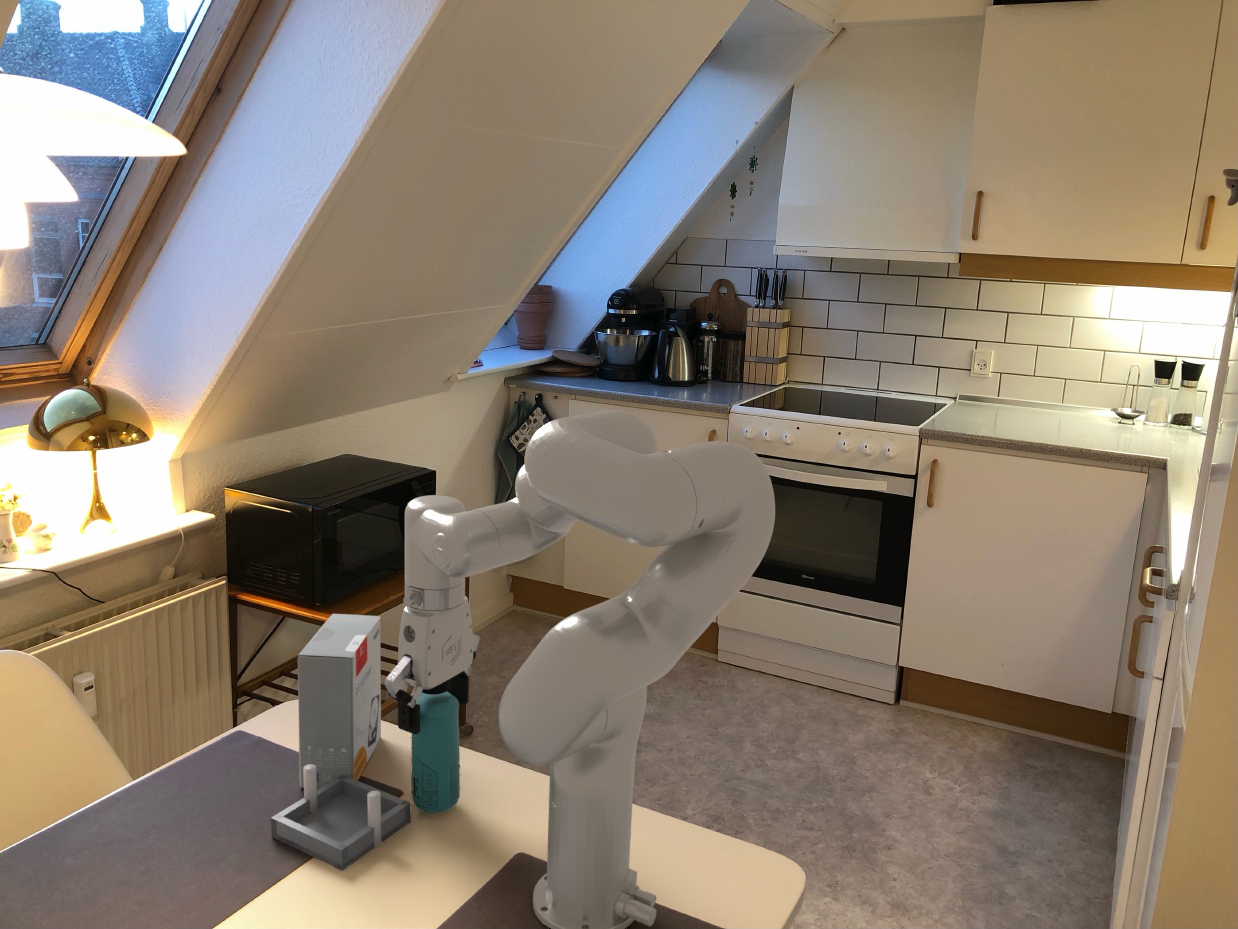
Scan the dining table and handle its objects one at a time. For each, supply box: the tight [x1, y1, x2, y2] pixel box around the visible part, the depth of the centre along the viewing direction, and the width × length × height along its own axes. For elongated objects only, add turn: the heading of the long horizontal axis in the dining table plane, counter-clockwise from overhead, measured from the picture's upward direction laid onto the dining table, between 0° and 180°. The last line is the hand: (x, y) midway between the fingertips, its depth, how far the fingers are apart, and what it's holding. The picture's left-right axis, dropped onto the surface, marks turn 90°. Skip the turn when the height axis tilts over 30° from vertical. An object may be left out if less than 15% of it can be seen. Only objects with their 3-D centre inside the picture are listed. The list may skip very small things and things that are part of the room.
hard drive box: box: [297, 613, 382, 789], centre depth 141 cm, size 16×8×20 cm, turn 179°
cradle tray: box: [270, 764, 412, 871], centre depth 126 cm, size 13×12×7 cm
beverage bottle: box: [409, 679, 462, 813], centre depth 130 cm, size 6×7×20 cm
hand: (434, 715), depth 129 cm, fingers open, 9 cm apart
